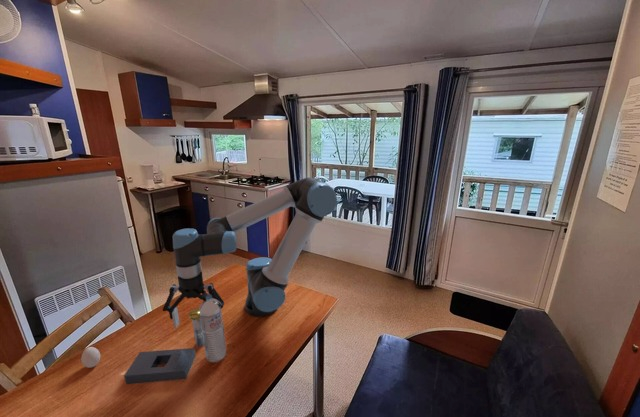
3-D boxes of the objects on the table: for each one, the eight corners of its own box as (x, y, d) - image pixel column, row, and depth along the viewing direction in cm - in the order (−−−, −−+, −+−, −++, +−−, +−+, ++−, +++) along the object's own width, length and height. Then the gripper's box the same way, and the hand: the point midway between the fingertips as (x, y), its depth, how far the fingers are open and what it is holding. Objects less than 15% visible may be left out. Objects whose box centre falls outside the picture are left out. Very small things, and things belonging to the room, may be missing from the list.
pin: (208, 338, 100) (204, 307, 96) (205, 347, 95) (200, 316, 91) (196, 339, 99) (191, 308, 95) (192, 348, 95) (186, 317, 91)
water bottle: (207, 366, 88) (198, 304, 81) (205, 351, 94) (196, 292, 86) (227, 359, 91) (221, 298, 84) (225, 345, 97) (218, 287, 89)
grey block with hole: (195, 355, 92) (194, 347, 91) (186, 378, 84) (184, 370, 82) (141, 359, 90) (139, 352, 89) (126, 384, 81) (123, 375, 80)
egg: (85, 364, 88) (79, 346, 86) (102, 357, 91) (97, 340, 89) (83, 374, 84) (77, 356, 82) (101, 367, 87) (96, 349, 85)
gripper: (229, 266, 93) (233, 315, 100) (156, 268, 90) (165, 319, 97) (225, 278, 86) (229, 329, 92) (145, 280, 83) (155, 334, 89)
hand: (196, 324), depth 94 cm, fingers open, 13 cm apart
